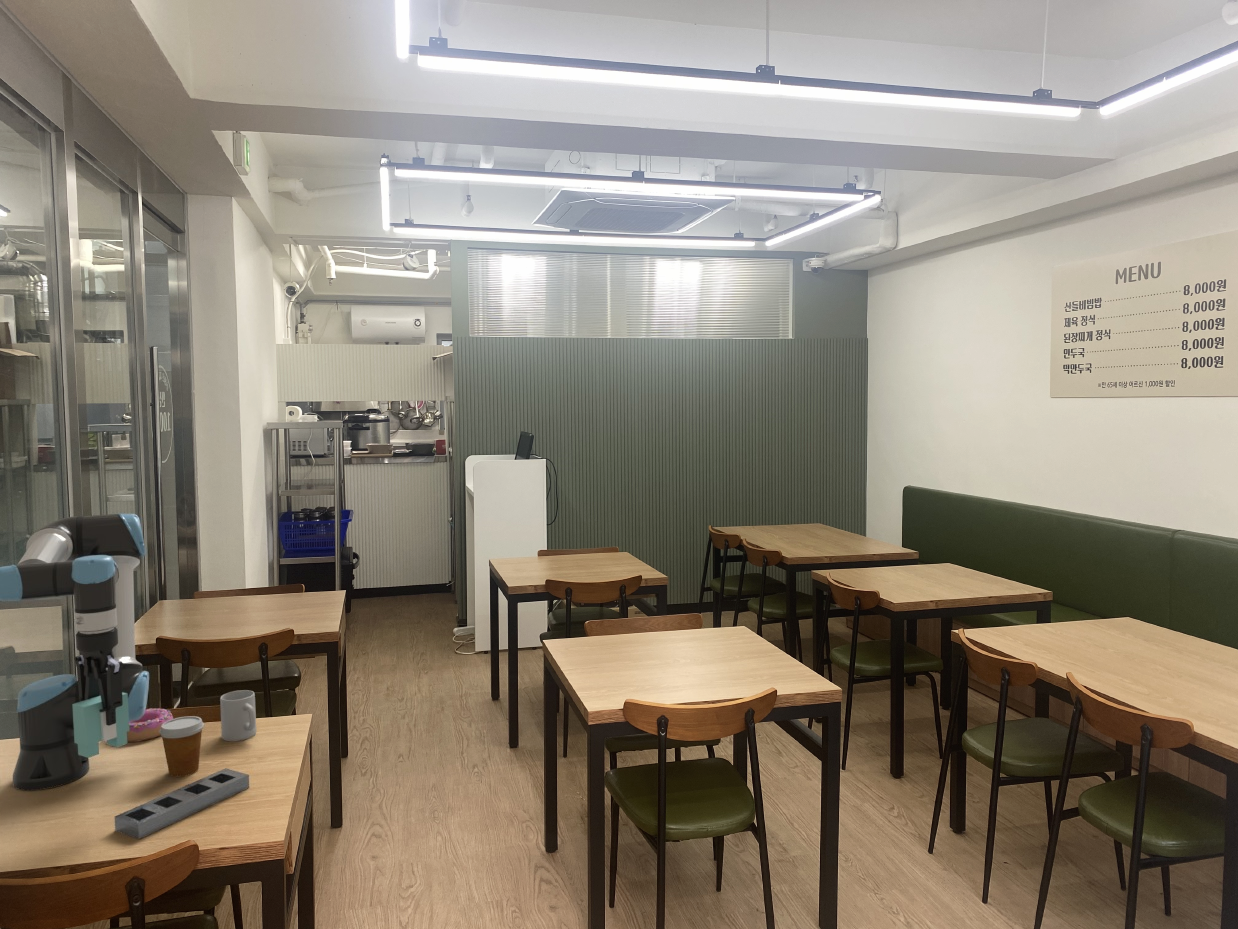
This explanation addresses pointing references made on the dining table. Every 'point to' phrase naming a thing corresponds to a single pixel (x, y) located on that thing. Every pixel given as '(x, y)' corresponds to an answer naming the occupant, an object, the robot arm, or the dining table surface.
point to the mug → (238, 715)
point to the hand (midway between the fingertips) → (102, 736)
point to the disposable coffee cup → (182, 744)
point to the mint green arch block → (97, 725)
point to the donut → (148, 725)
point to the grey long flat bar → (180, 803)
